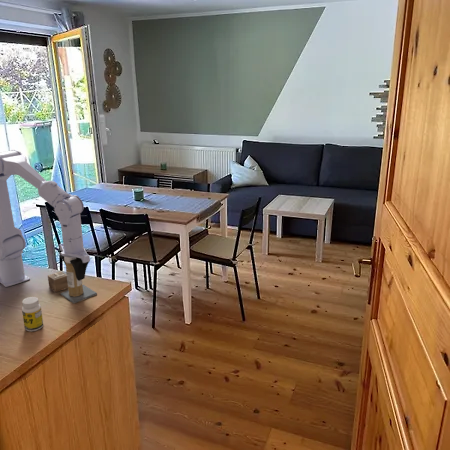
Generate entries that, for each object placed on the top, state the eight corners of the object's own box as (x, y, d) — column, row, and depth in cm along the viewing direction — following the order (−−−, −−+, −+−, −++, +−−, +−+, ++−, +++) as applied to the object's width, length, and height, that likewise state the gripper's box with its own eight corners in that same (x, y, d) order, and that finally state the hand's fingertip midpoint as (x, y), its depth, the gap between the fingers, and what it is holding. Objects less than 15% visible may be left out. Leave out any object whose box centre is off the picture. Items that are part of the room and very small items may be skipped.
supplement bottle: (20, 329, 115) (16, 302, 112) (33, 321, 119) (29, 294, 117) (34, 333, 114) (30, 306, 111) (47, 324, 118) (43, 297, 115)
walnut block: (49, 287, 138) (47, 274, 137) (62, 283, 142) (60, 270, 140) (55, 292, 136) (54, 279, 134) (69, 287, 139) (67, 274, 137)
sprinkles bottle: (85, 294, 133) (81, 255, 129) (71, 298, 131) (66, 258, 126) (80, 288, 137) (76, 250, 132) (66, 292, 134) (61, 253, 129)
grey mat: (60, 294, 134) (60, 293, 134) (83, 286, 140) (83, 284, 139) (73, 303, 129) (73, 301, 129) (96, 294, 134) (96, 292, 134)
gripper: (48, 233, 130) (53, 273, 134) (72, 246, 120) (77, 288, 125) (69, 228, 134) (74, 267, 139) (94, 239, 125) (98, 280, 130)
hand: (76, 276), depth 132 cm, fingers closed on sprinkles bottle, 4 cm apart
